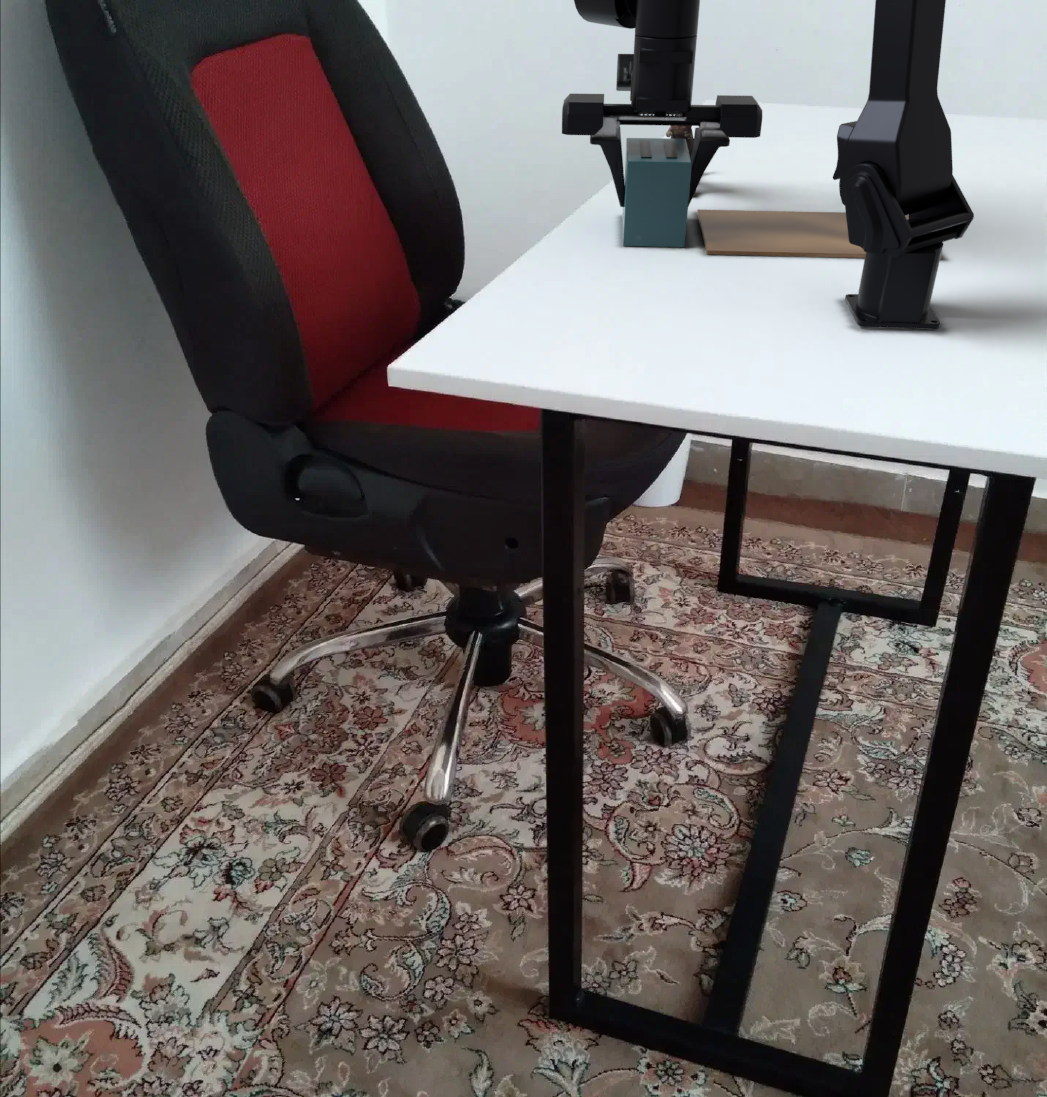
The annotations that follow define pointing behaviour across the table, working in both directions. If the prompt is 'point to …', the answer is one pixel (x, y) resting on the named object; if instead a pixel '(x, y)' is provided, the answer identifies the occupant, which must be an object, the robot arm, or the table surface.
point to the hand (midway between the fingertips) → (654, 206)
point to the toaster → (656, 192)
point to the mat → (777, 233)
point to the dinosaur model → (682, 136)
